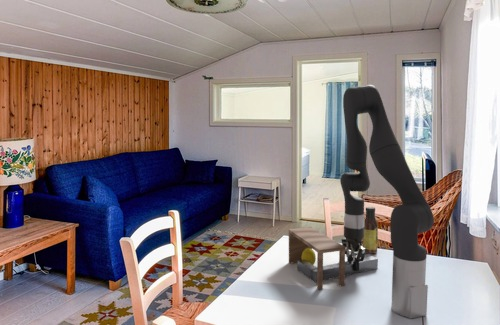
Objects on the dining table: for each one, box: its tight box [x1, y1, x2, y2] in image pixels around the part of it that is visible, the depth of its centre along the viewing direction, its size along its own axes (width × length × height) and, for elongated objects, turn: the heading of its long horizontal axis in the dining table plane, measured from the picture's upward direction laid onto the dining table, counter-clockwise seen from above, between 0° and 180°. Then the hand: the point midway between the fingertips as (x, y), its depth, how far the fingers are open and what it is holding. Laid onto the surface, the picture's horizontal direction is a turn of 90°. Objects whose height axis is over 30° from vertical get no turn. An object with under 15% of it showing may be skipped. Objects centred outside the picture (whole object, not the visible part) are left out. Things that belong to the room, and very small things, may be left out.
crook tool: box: [296, 255, 379, 283], centre depth 145 cm, size 12×29×4 cm, turn 114°
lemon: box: [302, 248, 317, 266], centre depth 148 cm, size 6×6×8 cm
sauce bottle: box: [362, 206, 379, 254], centre depth 164 cm, size 7×6×20 cm
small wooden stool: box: [288, 226, 346, 291], centre depth 141 cm, size 26×10×14 cm, turn 18°
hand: (353, 268), depth 143 cm, fingers closed on crook tool, 3 cm apart
